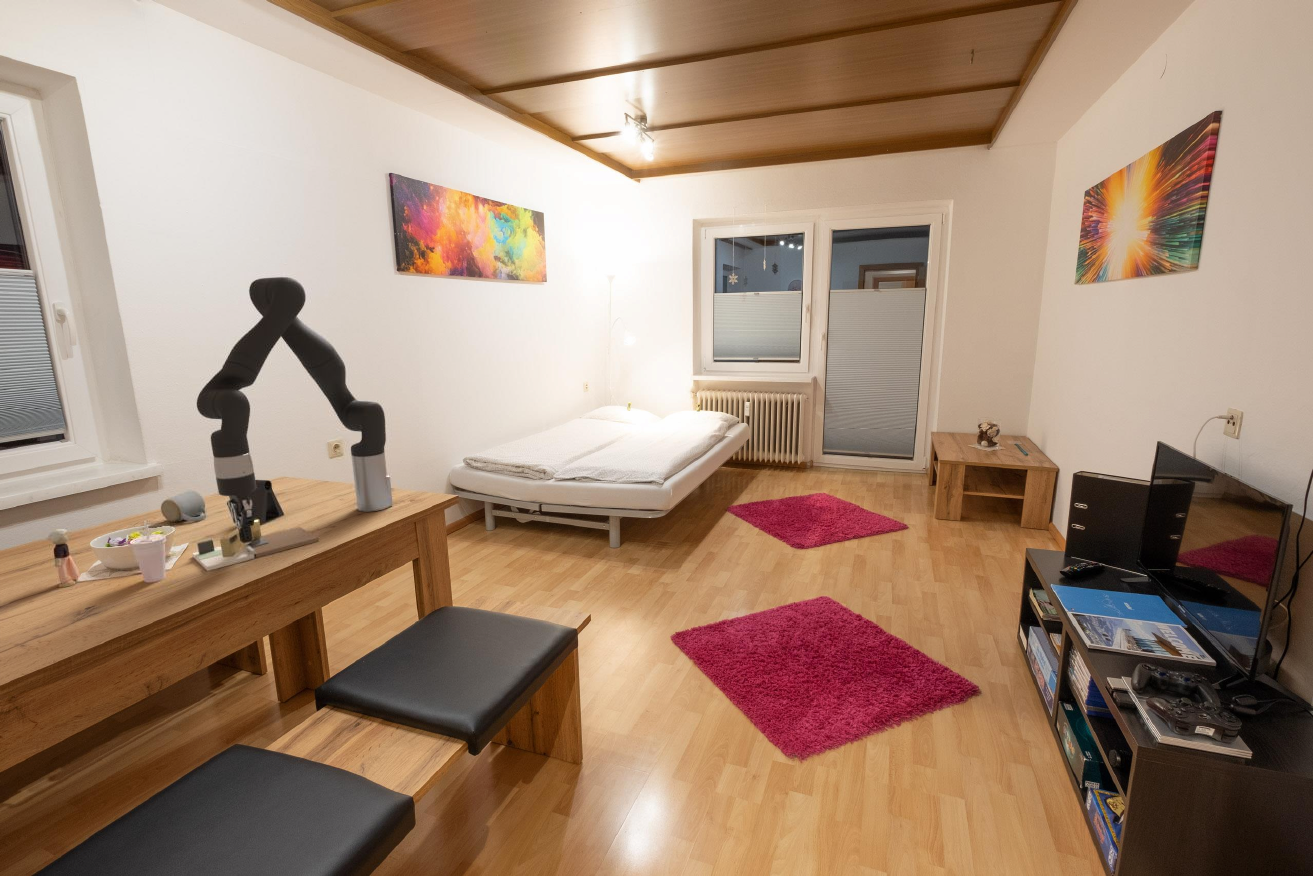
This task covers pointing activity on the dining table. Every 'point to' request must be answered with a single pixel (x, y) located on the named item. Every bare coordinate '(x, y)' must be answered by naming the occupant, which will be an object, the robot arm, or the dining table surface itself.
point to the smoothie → (150, 555)
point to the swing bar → (238, 540)
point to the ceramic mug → (184, 507)
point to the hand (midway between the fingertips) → (246, 541)
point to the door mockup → (253, 548)
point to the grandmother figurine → (63, 558)
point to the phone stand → (265, 502)
